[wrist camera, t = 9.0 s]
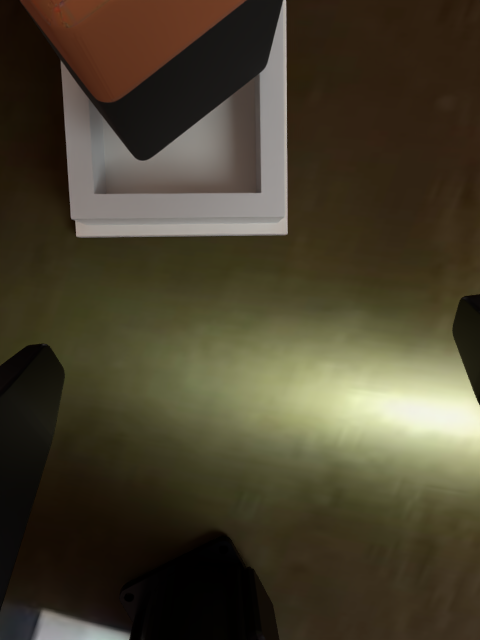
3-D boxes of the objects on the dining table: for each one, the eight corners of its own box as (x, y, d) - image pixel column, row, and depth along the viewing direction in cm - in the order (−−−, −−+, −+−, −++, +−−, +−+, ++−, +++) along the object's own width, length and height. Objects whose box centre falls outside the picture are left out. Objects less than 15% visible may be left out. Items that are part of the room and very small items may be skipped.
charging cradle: (285, 234, 19) (296, 228, 17) (80, 237, 19) (59, 231, 16) (283, -50, 18) (294, -105, 15) (62, -58, 17) (35, -116, 15)
